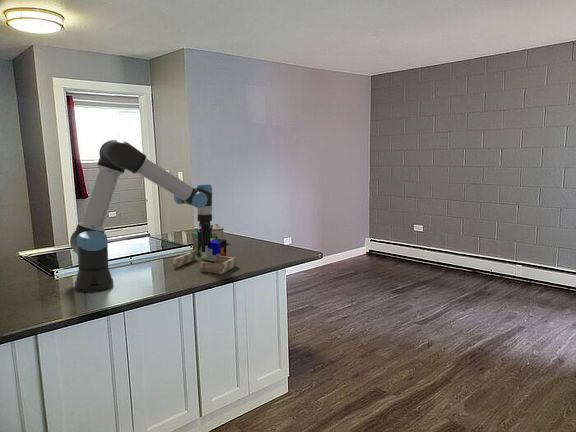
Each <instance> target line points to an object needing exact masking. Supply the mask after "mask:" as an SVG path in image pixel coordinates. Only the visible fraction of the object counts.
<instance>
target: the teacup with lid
mask: <svg viewBox="0 0 576 432" xmlns="http://www.w3.org/2000/svg"><path fill="white" fill-rule="evenodd" d="M224 230H225V229H224V227H223V226H221V225H219V224H218V223H215V224H214V225H213V228H212V238H215V239H224V240H226V237H227V233H226V232H225V231H224Z"/></svg>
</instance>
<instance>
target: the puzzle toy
mask: <svg viewBox="0 0 576 432" xmlns="http://www.w3.org/2000/svg"><path fill="white" fill-rule="evenodd" d="M209 244H210V245H208V258H202V246H201V254H200V259H201V261H207V262H215V256H216V254H221V256H227V239H215V238H211V241H210V243H209Z"/></svg>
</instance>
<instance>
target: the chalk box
mask: <svg viewBox="0 0 576 432" xmlns="http://www.w3.org/2000/svg"><path fill="white" fill-rule="evenodd" d="M211 238H212V233H211ZM191 240H192V241H191V242H192V243H191V244H192V250H195V251H196V255H201V246H200V245H199V240H198V234H197V231H193V232H192V238H191Z"/></svg>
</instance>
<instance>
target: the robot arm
mask: <svg viewBox="0 0 576 432" xmlns="http://www.w3.org/2000/svg"><path fill="white" fill-rule="evenodd" d="M98 155H99V158H98V161H97V167H98V170H99V171H98V173H97V176H96V179H95V182H94V186H93V188H92V191H91V195H90V198H89V201H88V203H87V206H86V210H85V213H84V216H83V218H82V221H80V222H78V223H77V225H76V227H75V231H74V232H72V234H71V236H70V241H69V244H70V247H71V249H72V250H73V252H74V253H76V255H77V265H78V267H77V268H78V272H77V275H76V280H75V282H74V290H75V291H76V292H80V293H99V292H103V291H107V290H110V289H112V287H114V279H113V277H112V274H111V271H110V269H109V254H108V253H109V250H108V249H109V248H108V246H109V245H108V244H109V239H108V236H107V234H106V233H105V232H106V230H105V227H104V222H105V220H106V217H107V214H108V211H109V208H110V206H111V205H110V204H111V202H112V199H113V195H114V193H115V190H116V187H117V184H118V181H119V179H120V176H122V175H124V174H125V171H126V170H127V171H129V172H130V173H132V174H136V175H137V174H139V176H142V177H144V178H145V179H147V180H148V181H150V182H152V183H153V184H154V185H157V186H159V187H161V189H163V190H166V191H167V192H169V193H171V194H172V195H173V199H174V203H176V204H178V205H185V204H186V205H189V206H192V207H195V208H196V209H197V210H196V211H197V212H196V213H197V215H196V217H197V222H198V223H199V225H198V227H197V228H196V229H195V232H197V234H198V240H199V245H200V246H202V258H208V245H210V244H209V243H210V241H211V233H212V228H213V226H214V225H213V224H212V223H211V222H212V221H213V214H212V213H213V186H212V185H211V184H209V183H198V184H197V185H196V187H195V188H194V187H193V186H191V185H190V184H188V183H186V182H185V181H183V180H182V179H180V178H178V177H177V176H175V175H174V174H172V173H170V172H169V171H167V170H166V169H164V168H163V167H161V166H159V165H158V164H156V163H155V162H153V161H152V160H149V159H148V157H147V154H144V153H143V152H141V151H140V150H139V149H137V148H136V147H134V146H133V145H132V144H131V143H129V142H127V141H125V140H117V139H111V140H107V141H106V142H104V143H103V144H102V145H101V146H100V149H99V153H98Z"/></svg>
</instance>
